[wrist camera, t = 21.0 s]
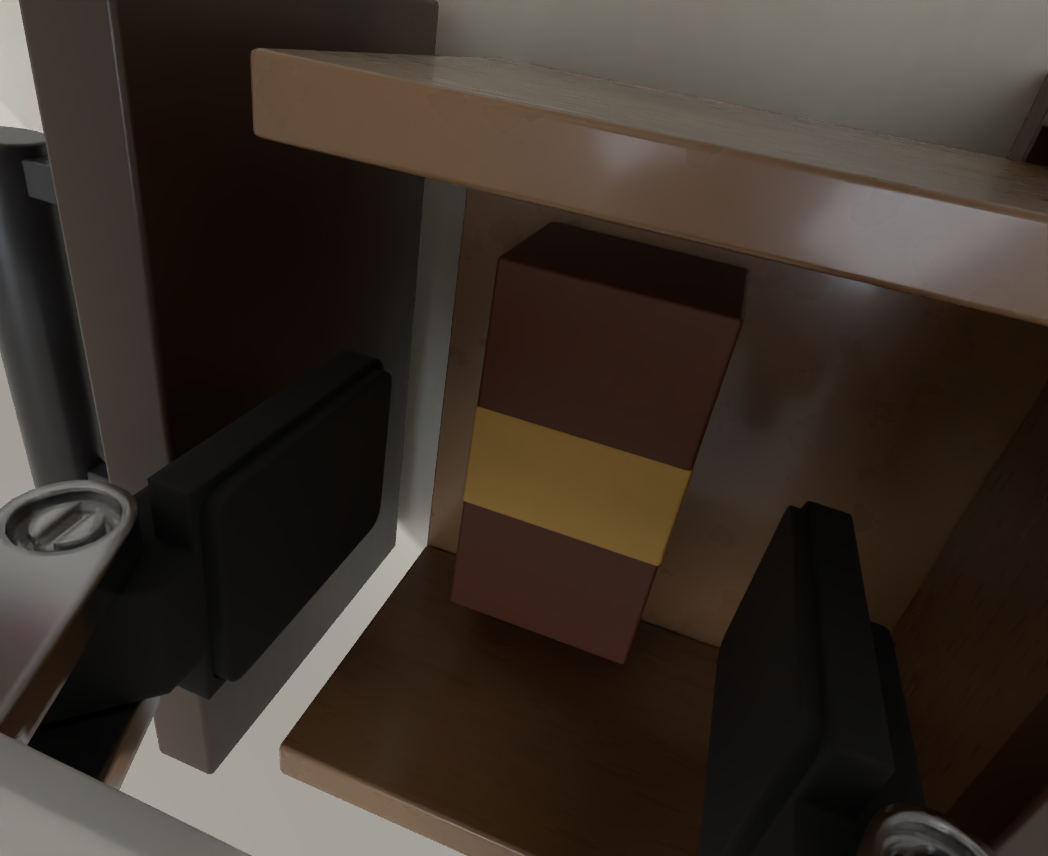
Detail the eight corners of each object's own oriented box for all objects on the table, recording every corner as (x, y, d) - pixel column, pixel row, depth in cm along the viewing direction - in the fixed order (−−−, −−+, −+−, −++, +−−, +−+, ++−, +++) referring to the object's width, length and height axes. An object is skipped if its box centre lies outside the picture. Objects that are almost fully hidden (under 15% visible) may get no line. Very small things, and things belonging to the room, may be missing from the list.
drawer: (209, 478, 20) (-43, 660, 14) (158, -51, 13) (-363, -153, 7) (856, 711, 16) (905, 1097, 10) (1217, 142, 10) (1957, 263, 4)
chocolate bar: (496, 521, 16) (447, 602, 13) (550, 219, 12) (495, 255, 10) (648, 573, 15) (625, 668, 13) (751, 268, 12) (745, 321, 9)
